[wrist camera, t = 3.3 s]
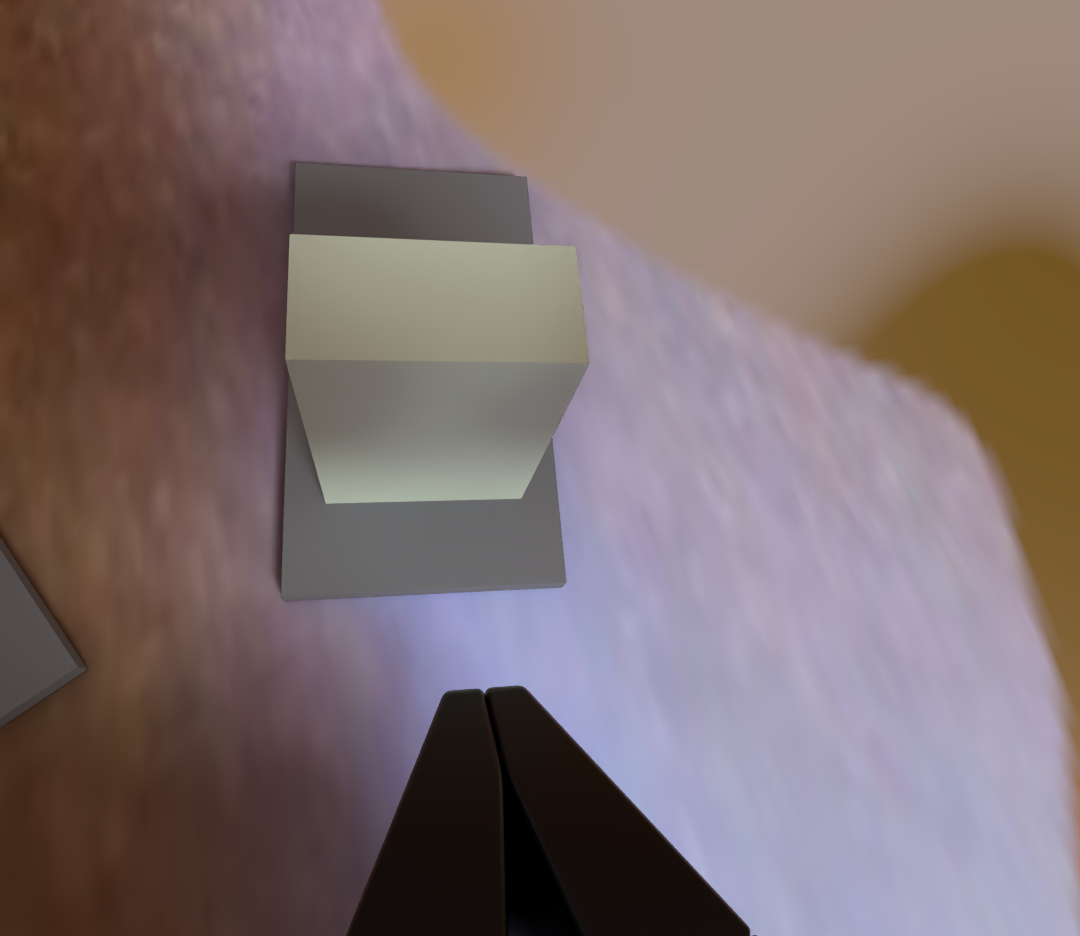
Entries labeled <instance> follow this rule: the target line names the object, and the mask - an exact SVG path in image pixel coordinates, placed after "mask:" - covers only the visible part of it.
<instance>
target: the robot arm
mask: <svg viewBox="0 0 1080 936" xmlns="http://www.w3.org/2000/svg"><path fill="white" fill-rule="evenodd" d="M346 936H750V928H749V927H748V925H747V924H746V923H745V922H744V921H743V920H742V919H741V918H740V917H739V916H738V915H737V914H736V913H735V912H734V910H733V909H732V908H731V907H730V906H729V905H728V904H727V903H726V902H725V901H724V900H723V899H722V898H721V897H720V895H719V894H718V893H717V892H716V891H715V890H714V889H713V888H712V887H711V886H710V885H709V884H708V883H707V882H706V880H705V879H704V878H703V877H702V876H701V875H700V874H699V873H698V872H697V871H696V870H695V869H694V868H693V867H692V865H691V864H690V863H689V862H688V861H687V860H686V859H685V858H684V857H683V856H682V855H681V854H680V853H679V852H678V850H677V849H676V848H675V847H674V846H673V845H672V844H671V843H670V842H669V841H668V840H667V839H666V838H665V837H664V836H663V834H662V833H661V832H660V831H659V830H658V829H657V828H656V827H655V826H654V825H653V824H652V823H651V822H650V821H649V819H648V818H647V817H646V816H645V815H644V814H643V813H642V812H641V811H640V810H639V809H638V808H637V807H636V806H635V804H634V803H633V802H632V801H631V800H630V799H629V798H628V797H627V796H626V795H625V794H624V793H623V792H622V791H621V789H620V788H619V787H618V786H617V785H616V784H615V783H614V782H613V781H612V780H611V779H610V778H609V777H608V776H607V774H606V773H605V772H604V771H603V770H602V769H601V768H600V767H599V766H598V765H597V764H596V763H595V762H594V761H593V760H592V758H591V757H590V756H589V755H588V754H587V753H586V752H585V751H584V750H583V749H582V748H581V747H580V746H579V745H578V743H577V742H576V741H575V740H574V739H573V738H572V737H571V736H570V735H569V734H568V733H567V732H566V731H565V730H564V728H563V727H562V726H561V725H560V724H559V723H558V722H557V721H556V720H555V719H554V718H553V717H552V716H551V715H550V713H549V712H548V711H547V710H546V709H545V708H544V707H543V706H542V705H541V704H540V703H539V702H538V701H537V700H536V698H535V697H534V696H533V695H532V694H531V693H530V692H529V691H528V690H527V689H526V688H524V687H522V686H505V687H492V688H489V689H487V690H486V692H485V694H484V693H483V691H482V690H480V689H465V690H452V691H447V692H446V693H445V694H444V695H443V696H442V698H441V701H440V703H439V706H438V708H437V711H436V713H435V716H434V718H433V721H432V723H431V726H430V728H429V731H428V733H427V736H426V738H425V741H424V743H423V745H422V748H421V750H420V753H419V755H418V758H417V760H416V763H415V765H414V768H413V770H412V773H411V775H410V778H409V780H408V783H407V785H406V788H405V790H404V793H403V795H402V798H401V800H400V803H399V805H398V808H397V810H396V813H395V815H394V818H393V820H392V823H391V825H390V828H389V830H388V833H387V835H386V838H385V840H384V842H383V845H382V847H381V850H380V852H379V855H378V857H377V860H376V862H375V865H374V867H373V870H372V872H371V875H370V877H369V880H368V882H367V885H366V887H365V890H364V892H363V895H362V897H361V900H360V902H359V905H358V907H357V910H356V912H355V915H354V917H353V920H352V922H351V925H350V927H349V930H348V932H347V935H346ZM753 936H757V935H753Z"/></svg>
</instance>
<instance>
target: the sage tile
mask: <svg viewBox="0 0 1080 936" xmlns="http://www.w3.org/2000/svg"><path fill="white" fill-rule="evenodd" d="M285 361H286V364H287V368H288V371H289V375H290V378H291V382H292V386H293V389H294V393H295V396H296V400H297V403H298V407H299V410H300V414H301V418H302V421H303V425H304V428H305V432H306V435H307V439H308V442H309V446H310V450H311V453H312V457H313V460H314V464H315V467H316V471H317V474H318V478H319V482H320V485H321V489H322V492H323V496H324V499H325V503H326V504H331V503H371V502H410V501H450V500H489V499H521V498H522V496H523V494H524V492H525V490H526V488H527V486H528V484H529V482H530V480H531V478H532V476H533V474H534V472H535V470H536V468H537V466H538V464H539V463H540V461H541V459H542V457H543V455H544V453H545V451H546V449H547V447H548V445H549V443H550V441H551V439H552V437H553V435H554V433H555V431H556V429H557V427H558V425H559V423H560V421H561V419H562V417H563V415H564V413H565V411H566V409H567V407H568V405H569V403H570V401H571V399H572V397H573V395H574V393H575V391H576V389H577V387H578V385H579V383H580V381H581V379H582V377H583V375H584V373H585V371H586V369H587V367H588V365H589V363H590V362H589V354H588V346H587V337H586V329H585V321H584V312H583V304H582V296H581V288H580V279H579V271H578V263H577V255H576V247H574V246H551V245H529V244H506V243H483V242H460V241H437V240H414V239H391V238H369V237H346V236H323V235H300V234H290V239H289V267H288V295H287V322H286V350H285Z"/></svg>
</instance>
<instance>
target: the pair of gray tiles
mask: <svg viewBox="0 0 1080 936" xmlns="http://www.w3.org/2000/svg"><path fill="white" fill-rule="evenodd" d="M293 234H300V235H323V236H346V237H369V238H391V239H414V240H437V241H460V242H483V243H506V244H529V245H533V237H532V226H531V216H530V206H529V196H528V186H527V177H522V176H506V175H490V174H474V173H458V172H442V171H426V170H410V169H394V168H378V167H361V166H345V165H329V164H313V163H297V162H296V169H295V198H294V228H293ZM565 583H566V574H565V564H564V553H563V543H562V533H561V523H560V513H559V502H558V492H557V482H556V472H555V462H554V451H553V441H552V439H551V441H550V443H549V445H548V447H547V449H546V451H545V453H544V455H543V457H542V459H541V461H540V463H539V464H538V466H537V468H536V470H535V472H534V474H533V476H532V478H531V480H530V482H529V484H528V486H527V488H526V490H525V492H524V494H523V496H522V498H521V499H489V500H450V501H410V502H371V503H331V504H326V503H325V499H324V496H323V492H322V489H321V485H320V482H319V478H318V474H317V471H316V467H315V464H314V460H313V457H312V453H311V450H310V446H309V442H308V439H307V435H306V432H305V428H304V425H303V421H302V418H301V414H300V410H299V407H298V403H297V400H296V396H295V393H294V389H293V386H292V382H291V378H290V375H289V374H288V404H287V433H286V462H285V492H284V521H283V550H282V580H281V597H282V599H283V600H284V601H298V600H318V599H338V598H358V597H378V596H398V595H418V594H438V593H458V592H478V591H498V590H518V589H538V588H558V587H562V586H563V585H564V584H565ZM86 670H88V669H87V667H86V666H85V664H84V663H83V661H82V660H81V658H80V657H79V655H78V654H77V652H76V651H75V649H74V648H73V646H72V645H71V643H70V642H69V640H68V639H67V637H66V636H65V634H64V633H63V631H62V630H61V628H60V627H59V625H58V623H57V622H56V620H55V619H54V617H53V616H52V614H51V613H50V611H49V610H48V608H47V607H46V605H45V604H44V602H43V601H42V599H41V598H40V596H39V595H38V593H37V592H36V590H35V589H34V587H33V586H32V584H31V583H30V581H29V580H28V578H27V577H26V575H25V574H24V572H23V571H22V569H21V568H20V566H19V565H18V563H17V562H16V560H15V559H14V557H13V556H12V554H11V552H10V551H9V549H8V548H7V546H6V545H5V543H4V542H3V540H2V539H1V537H0V728H1V727H2V726H4V725H5V724H7V723H8V722H10V721H11V720H13V719H14V718H16V717H17V716H19V715H20V714H22V713H23V712H25V711H26V710H28V709H29V708H31V707H32V706H34V705H35V704H37V703H38V702H40V701H41V700H43V699H44V698H46V697H47V696H49V695H50V694H52V693H53V692H55V691H56V690H58V689H59V688H61V687H62V686H64V685H65V684H67V683H68V682H70V681H71V680H73V679H74V678H76V677H77V676H79V675H80V674H82V673H83V672H85V671H86Z"/></svg>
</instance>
